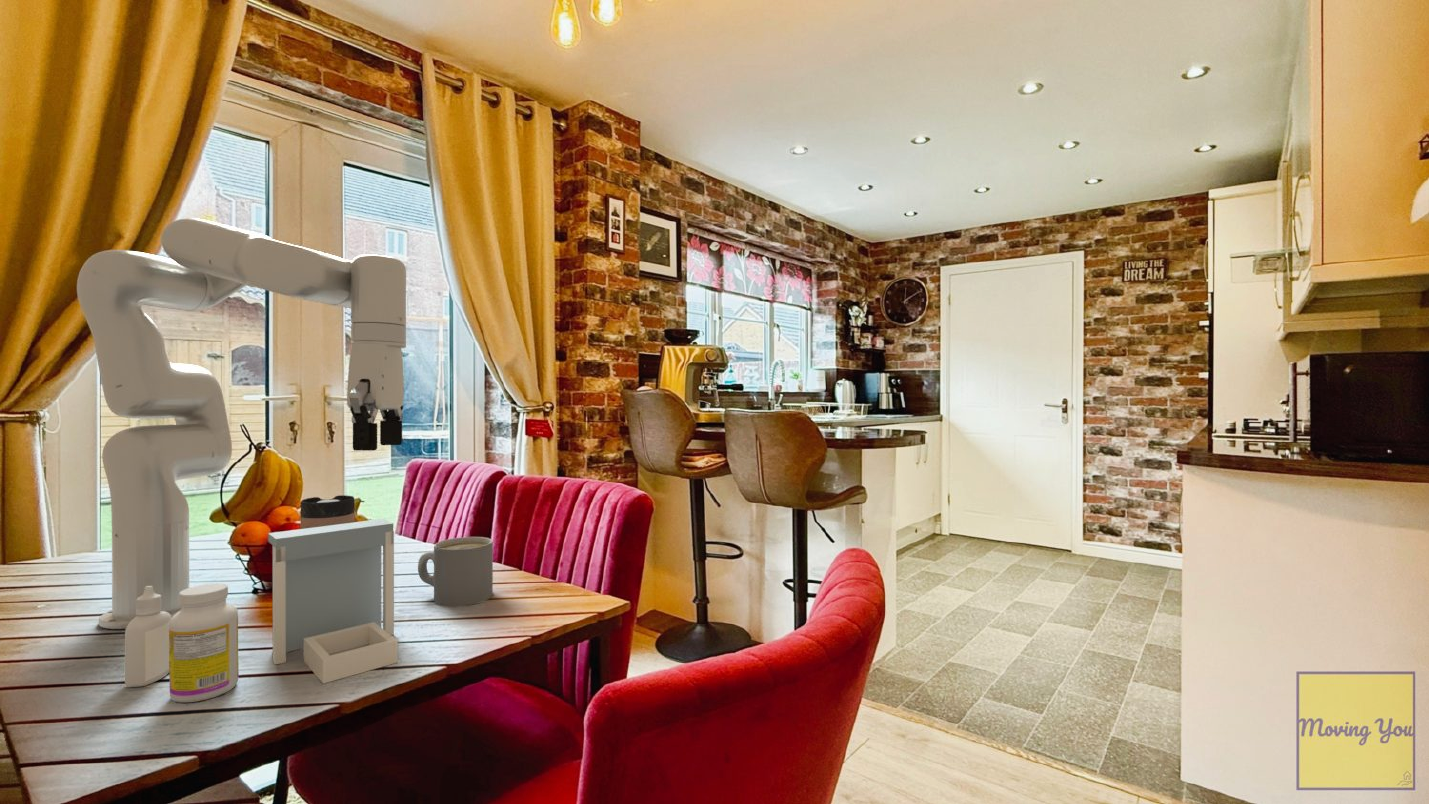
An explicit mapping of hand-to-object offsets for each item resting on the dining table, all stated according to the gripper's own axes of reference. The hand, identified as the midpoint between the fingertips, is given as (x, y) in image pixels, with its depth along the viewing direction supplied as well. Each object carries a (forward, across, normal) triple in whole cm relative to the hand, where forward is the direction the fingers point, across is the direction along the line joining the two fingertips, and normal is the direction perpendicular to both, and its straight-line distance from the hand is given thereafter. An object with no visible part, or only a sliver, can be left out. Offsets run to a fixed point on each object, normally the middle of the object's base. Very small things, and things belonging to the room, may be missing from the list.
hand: (378, 447), depth 96 cm
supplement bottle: (+29, +18, -13) cm, 37 cm away
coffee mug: (+29, -17, +7) cm, 34 cm away
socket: (+29, +11, 0) cm, 31 cm away
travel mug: (+29, -6, -10) cm, 31 cm away
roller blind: (+29, +4, -5) cm, 29 cm away
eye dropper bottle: (+29, +13, -23) cm, 39 cm away
